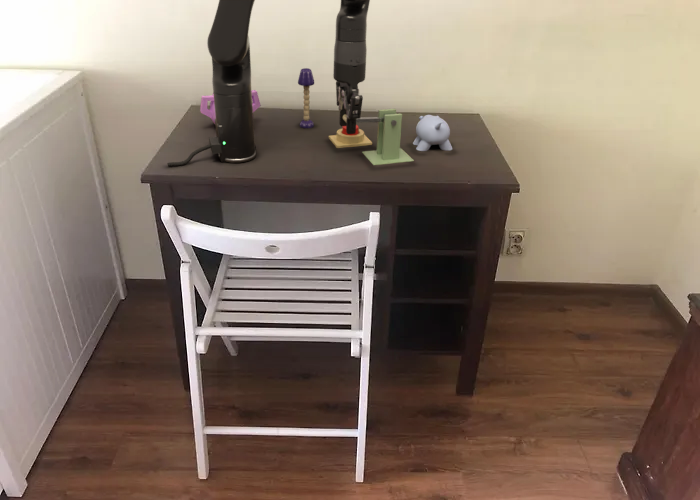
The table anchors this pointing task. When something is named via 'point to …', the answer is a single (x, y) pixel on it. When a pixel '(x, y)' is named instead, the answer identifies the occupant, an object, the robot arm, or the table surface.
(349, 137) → the button box
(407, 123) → the table surface
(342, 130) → the button
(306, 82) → the toy lamp
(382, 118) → the lever
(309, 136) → the table surface
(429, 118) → the hippopotamus toy
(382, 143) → the bracket
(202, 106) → the pot
